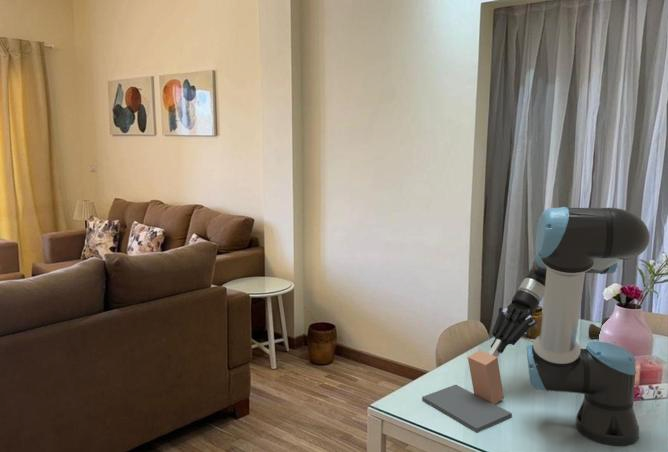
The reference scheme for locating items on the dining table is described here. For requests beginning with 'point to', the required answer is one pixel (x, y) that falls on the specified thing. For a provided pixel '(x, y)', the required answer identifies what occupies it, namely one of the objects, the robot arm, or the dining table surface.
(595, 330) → the kendama
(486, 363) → the tall block
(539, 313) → the condiment
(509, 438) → the dining table surface
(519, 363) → the dining table surface
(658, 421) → the dining table surface
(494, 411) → the rubber mat
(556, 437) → the dining table surface
